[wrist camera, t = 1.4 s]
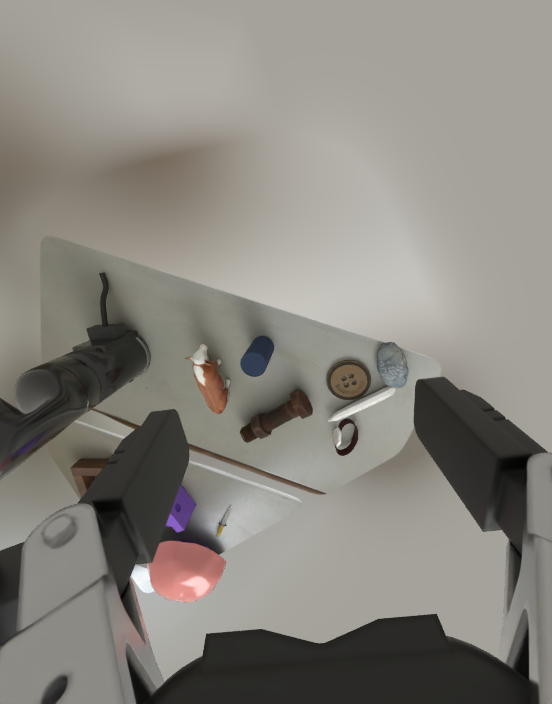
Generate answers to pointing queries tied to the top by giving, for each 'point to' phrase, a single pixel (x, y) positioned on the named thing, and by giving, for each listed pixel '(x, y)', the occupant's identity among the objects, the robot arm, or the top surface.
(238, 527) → the top surface
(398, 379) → the fossil
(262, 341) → the pad post
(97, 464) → the base frame
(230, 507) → the dagger
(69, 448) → the top surface
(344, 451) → the watch
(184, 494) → the bracket
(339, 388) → the button
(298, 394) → the bolt
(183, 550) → the cell model
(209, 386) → the bull figurine
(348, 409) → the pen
